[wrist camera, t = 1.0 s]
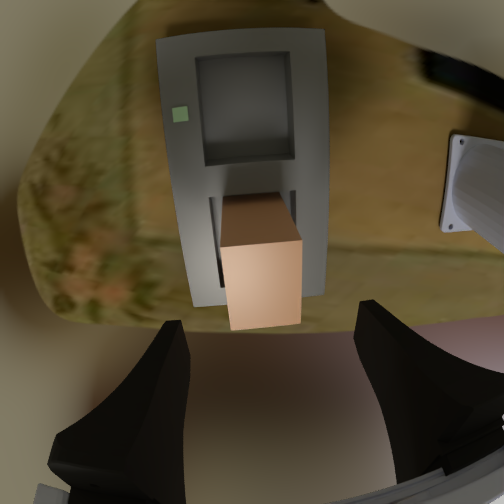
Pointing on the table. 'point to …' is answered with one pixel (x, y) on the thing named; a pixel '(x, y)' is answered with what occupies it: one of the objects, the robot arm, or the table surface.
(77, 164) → the table surface
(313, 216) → the grey slotted tray
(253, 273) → the tan rectangular block
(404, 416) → the robot arm
